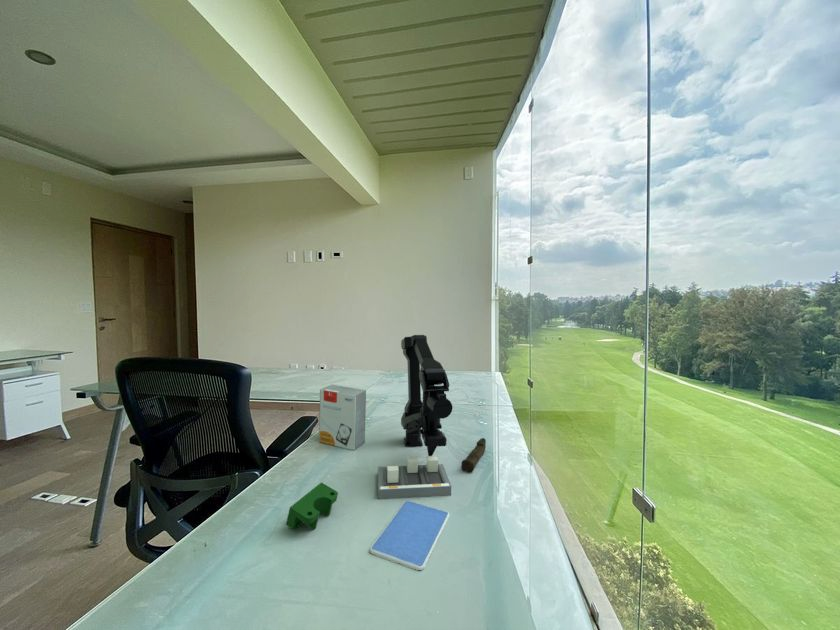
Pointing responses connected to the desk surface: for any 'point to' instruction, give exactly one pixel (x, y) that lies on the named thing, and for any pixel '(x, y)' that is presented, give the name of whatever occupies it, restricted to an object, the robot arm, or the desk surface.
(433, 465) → the tab
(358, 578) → the desk surface
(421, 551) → the tablet computer
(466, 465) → the brown wooden log
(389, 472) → the tab
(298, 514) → the clamp
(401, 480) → the switch panel
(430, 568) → the desk surface
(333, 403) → the hard drive box
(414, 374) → the robot arm
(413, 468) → the tab
